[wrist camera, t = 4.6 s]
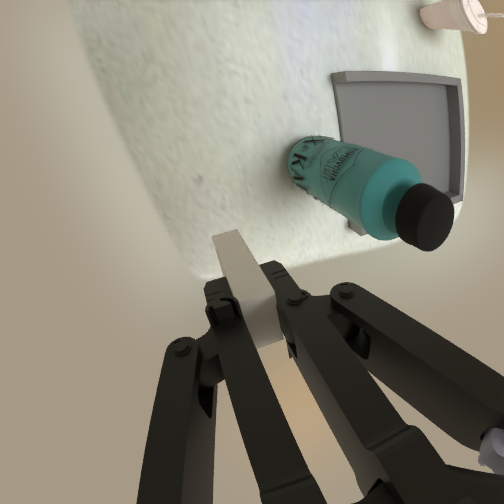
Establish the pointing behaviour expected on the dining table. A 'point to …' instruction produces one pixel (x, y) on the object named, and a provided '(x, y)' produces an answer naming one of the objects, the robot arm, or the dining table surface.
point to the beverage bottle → (372, 191)
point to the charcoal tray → (406, 123)
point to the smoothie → (456, 16)
